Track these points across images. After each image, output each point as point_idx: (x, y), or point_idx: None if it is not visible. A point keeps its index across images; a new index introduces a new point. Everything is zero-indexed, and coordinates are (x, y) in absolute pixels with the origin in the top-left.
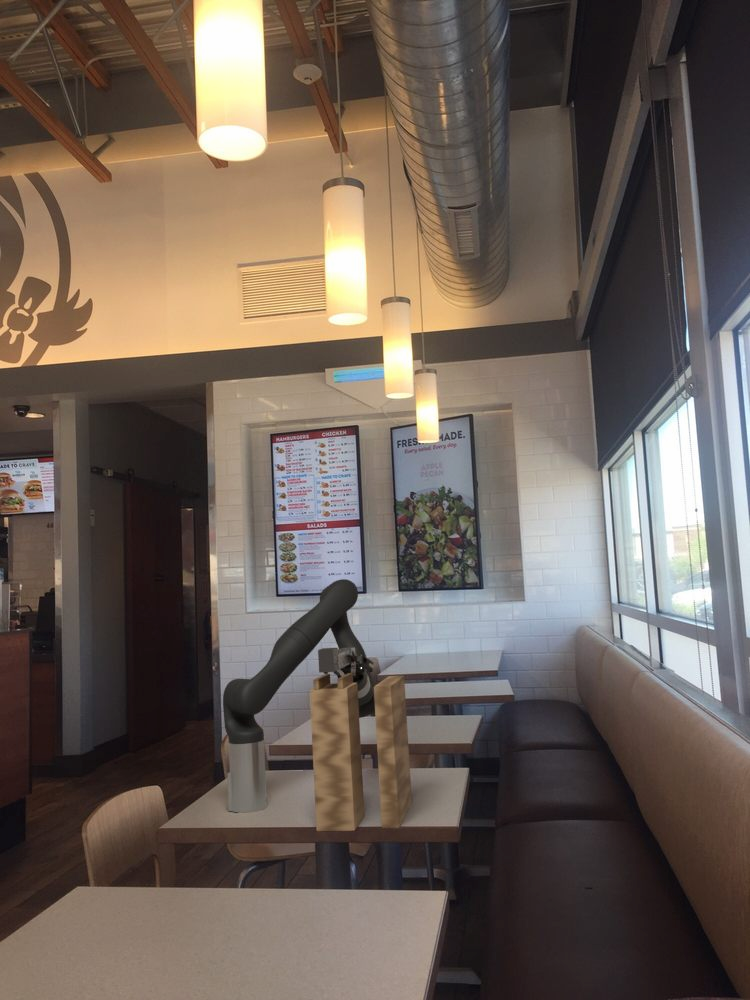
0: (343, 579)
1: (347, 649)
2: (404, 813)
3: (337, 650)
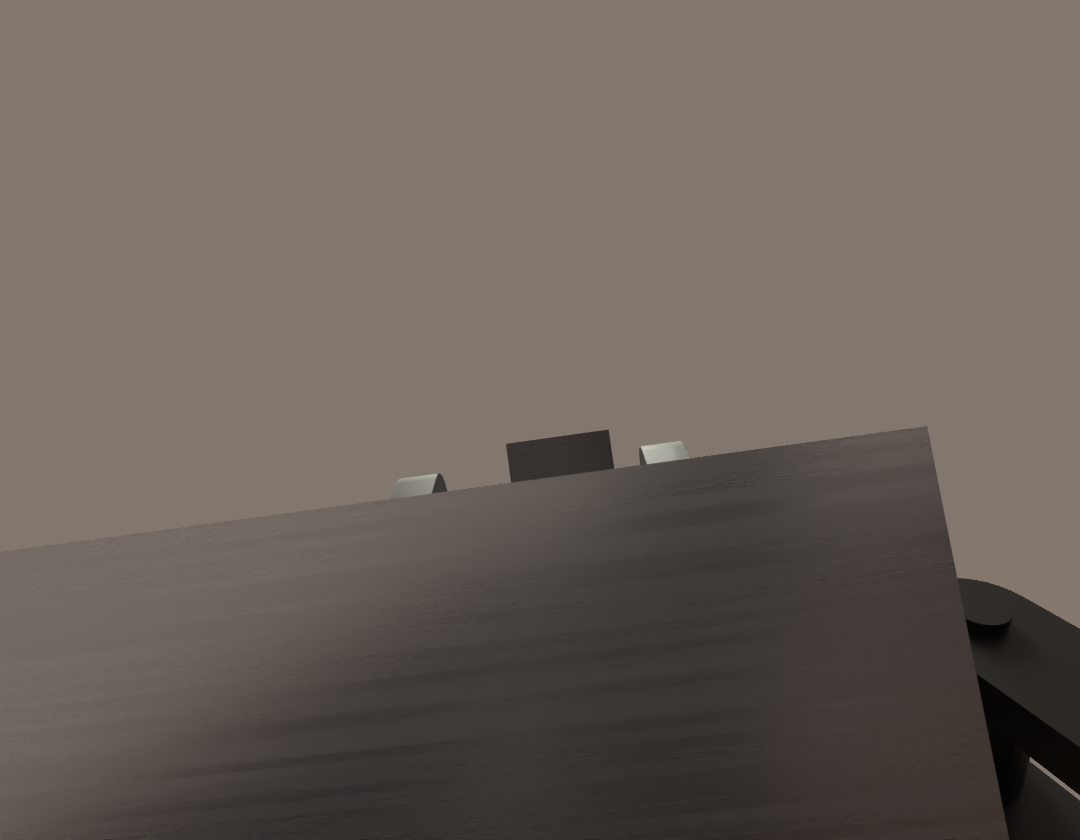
0: None
1: (441, 483)
2: None
3: (509, 462)
